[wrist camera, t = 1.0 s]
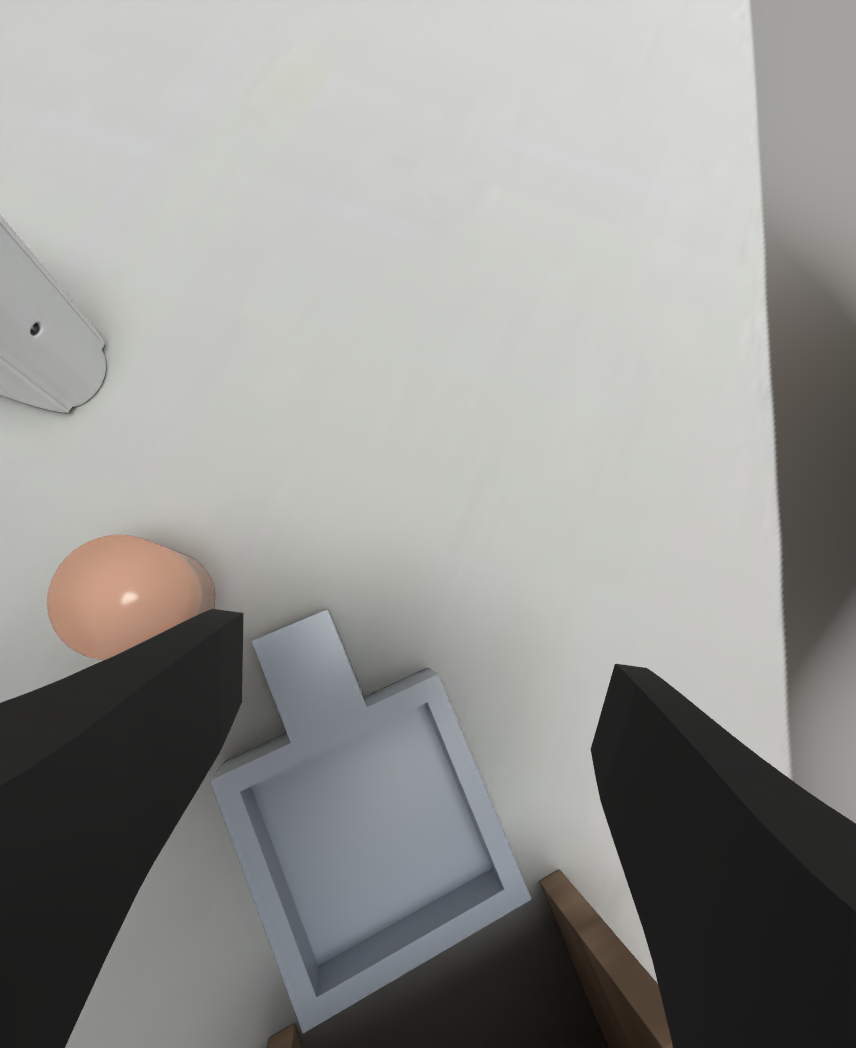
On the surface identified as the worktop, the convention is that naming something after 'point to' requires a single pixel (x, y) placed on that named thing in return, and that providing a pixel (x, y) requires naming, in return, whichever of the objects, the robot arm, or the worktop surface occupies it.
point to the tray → (361, 825)
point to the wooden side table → (591, 975)
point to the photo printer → (43, 335)
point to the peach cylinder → (124, 594)
